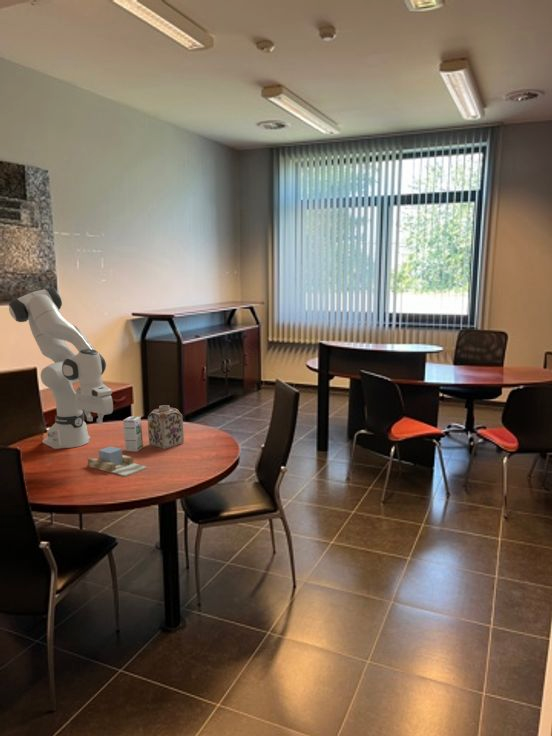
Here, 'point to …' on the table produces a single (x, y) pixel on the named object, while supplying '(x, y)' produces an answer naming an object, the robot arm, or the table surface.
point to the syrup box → (133, 433)
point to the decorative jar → (165, 427)
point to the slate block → (111, 455)
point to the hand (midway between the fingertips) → (94, 422)
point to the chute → (121, 469)
